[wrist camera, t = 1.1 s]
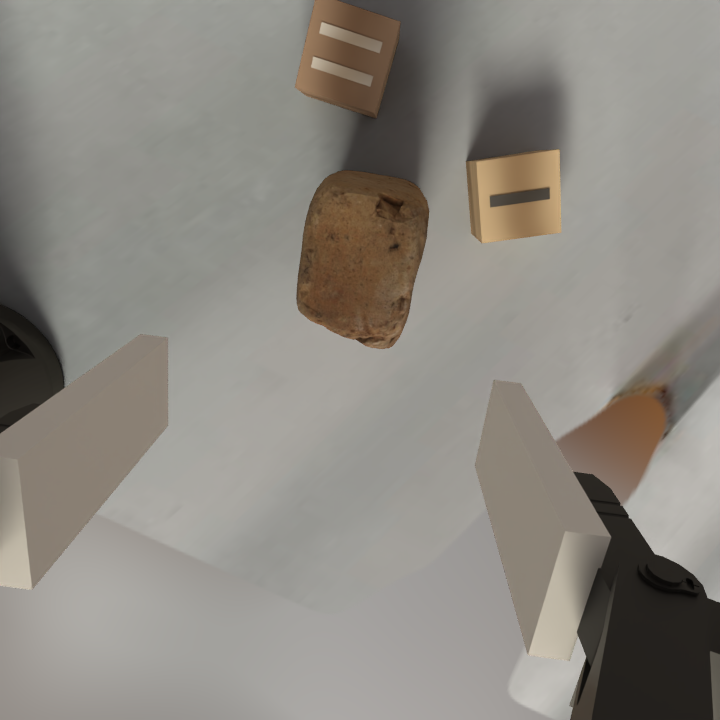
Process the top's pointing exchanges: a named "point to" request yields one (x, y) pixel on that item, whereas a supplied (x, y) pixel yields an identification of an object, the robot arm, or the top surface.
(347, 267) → the block
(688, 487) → the top surface
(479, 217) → the cube one stripe
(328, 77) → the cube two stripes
